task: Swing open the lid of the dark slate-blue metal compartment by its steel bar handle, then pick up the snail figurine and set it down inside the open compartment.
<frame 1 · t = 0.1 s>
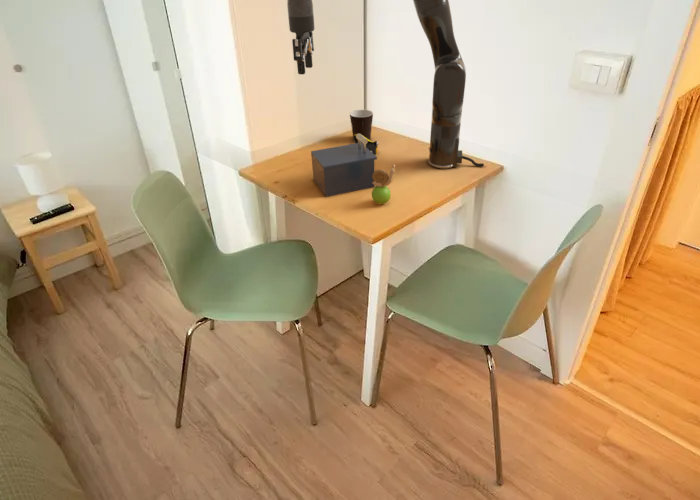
hand: (305, 70, 147), 29 cm above the table, tool pointing down, fingers open, 8 cm apart
lid: (343, 148, 139), point 12 cm above the table, hinge at 0.0°
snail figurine: (382, 203, 134), on the table
coffee mug: (360, 141, 175), on the table
gaming controller: (361, 156, 163), on the table
compartment: (343, 183, 146), on the table
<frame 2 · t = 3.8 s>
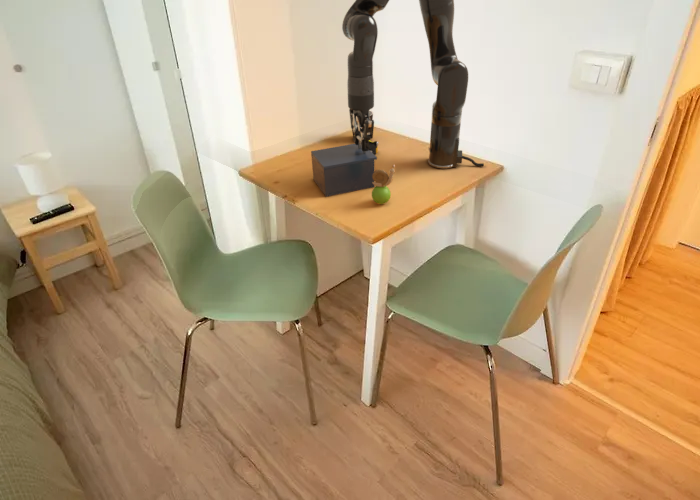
hand: (361, 147, 141), 11 cm above the table, tool pointing down, fingers closed on lid, 5 cm apart
lid: (343, 148, 139), point 12 cm above the table, hinge at 0.0°, touching gripper
everything else where it was.
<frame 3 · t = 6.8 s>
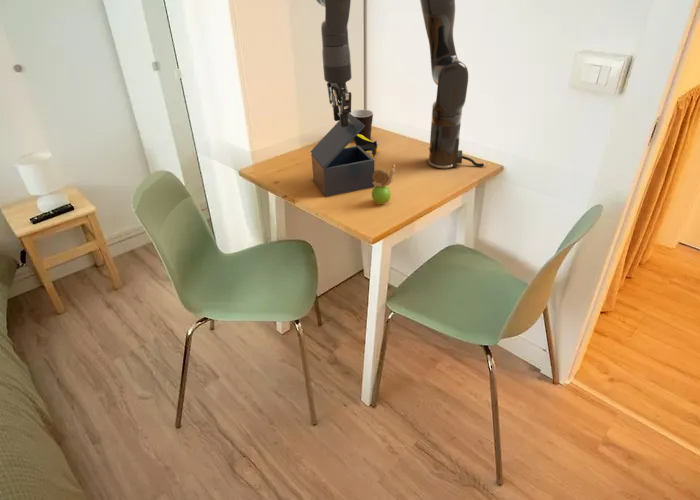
hand: (341, 122, 135), 19 cm above the table, tool pointing down, fingers closed on lid, 5 cm apart
lid: (331, 134, 136), point 16 cm above the table, hinge at 39.6°, touching gripper
everything else where it was.
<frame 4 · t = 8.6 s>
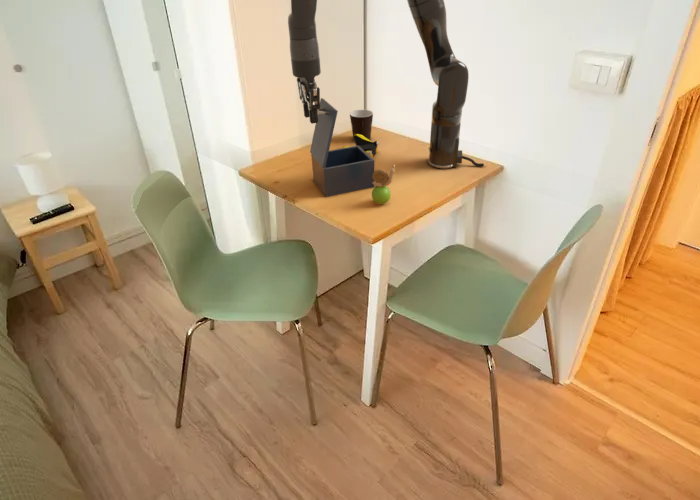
hand: (311, 119, 131), 22 cm above the table, tool pointing down, fingers closed on lid, 5 cm apart
lid: (315, 131, 133), point 18 cm above the table, hinge at 73.5°, touching gripper
everything else where it was.
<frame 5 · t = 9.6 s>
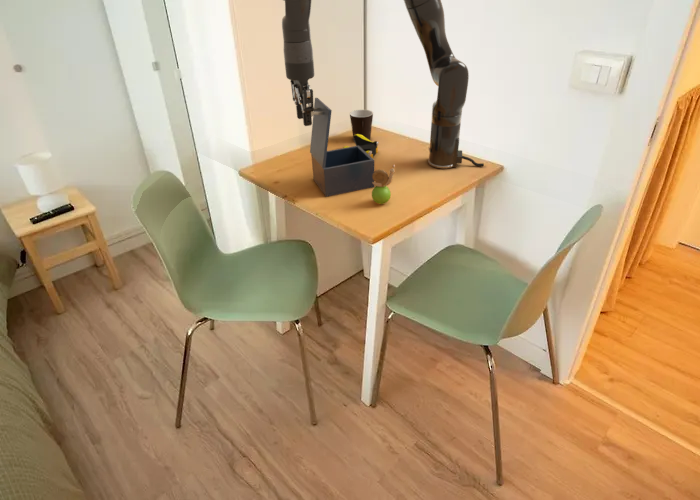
hand: (304, 121, 131), 21 cm above the table, tool pointing down, fingers open, 6 cm apart
lid: (312, 132, 133), point 18 cm above the table, hinge at 79.7°
everything else where it was.
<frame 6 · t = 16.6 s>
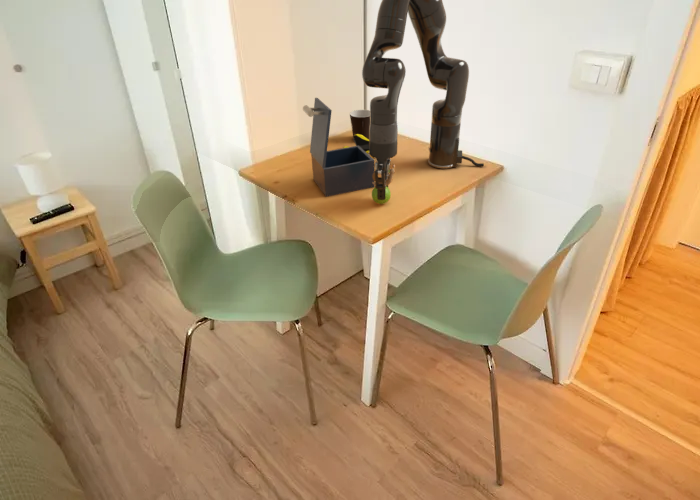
hand: (382, 194, 133), 3 cm above the table, tool pointing down, fingers closed on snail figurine, 5 cm apart
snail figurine: (382, 203, 134), on the table, touching gripper
everything else where it was.
when the fingers open (6 cm above the table, at t = 35.1 s): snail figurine drops 2 cm, resting on compartment.
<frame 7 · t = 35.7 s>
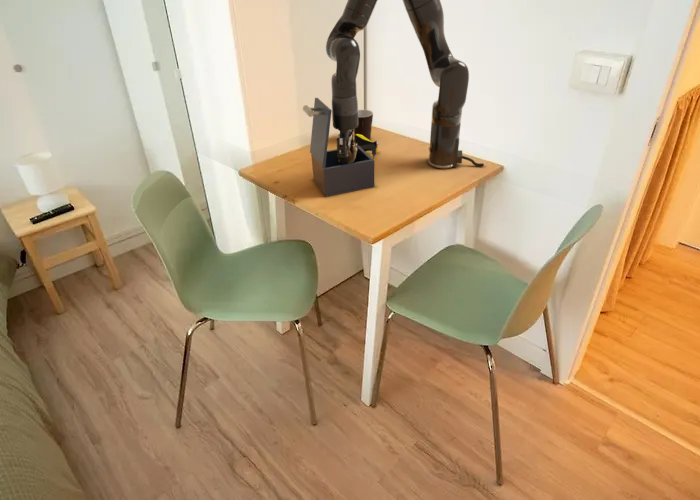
hand: (347, 163, 142), 7 cm above the table, tool pointing down, fingers open, 8 cm apart
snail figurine: (348, 180, 146), point 1 cm above the table, touching compartment
everything else where it was.
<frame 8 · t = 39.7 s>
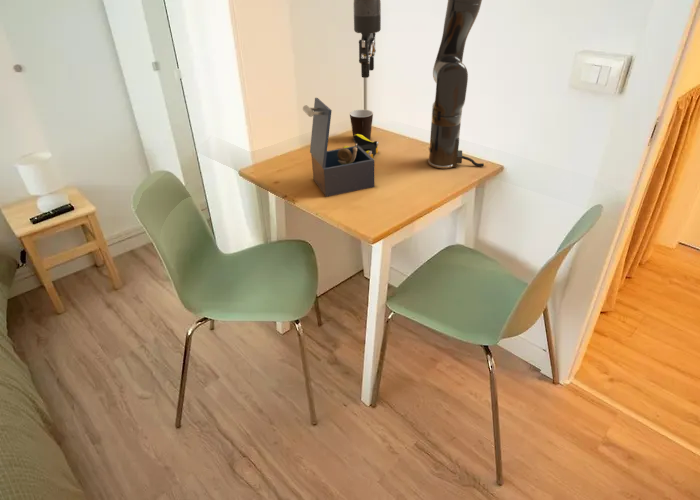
hand: (367, 73, 138), 30 cm above the table, tool pointing down, fingers open, 8 cm apart
nothing on the table moved.
at the end: lid at +80° (first picture: +0°); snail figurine inside the target area in the compartment (1.6 cm from its centre), point 0.7 cm above the compartment's base; the gripper is holding nothing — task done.
